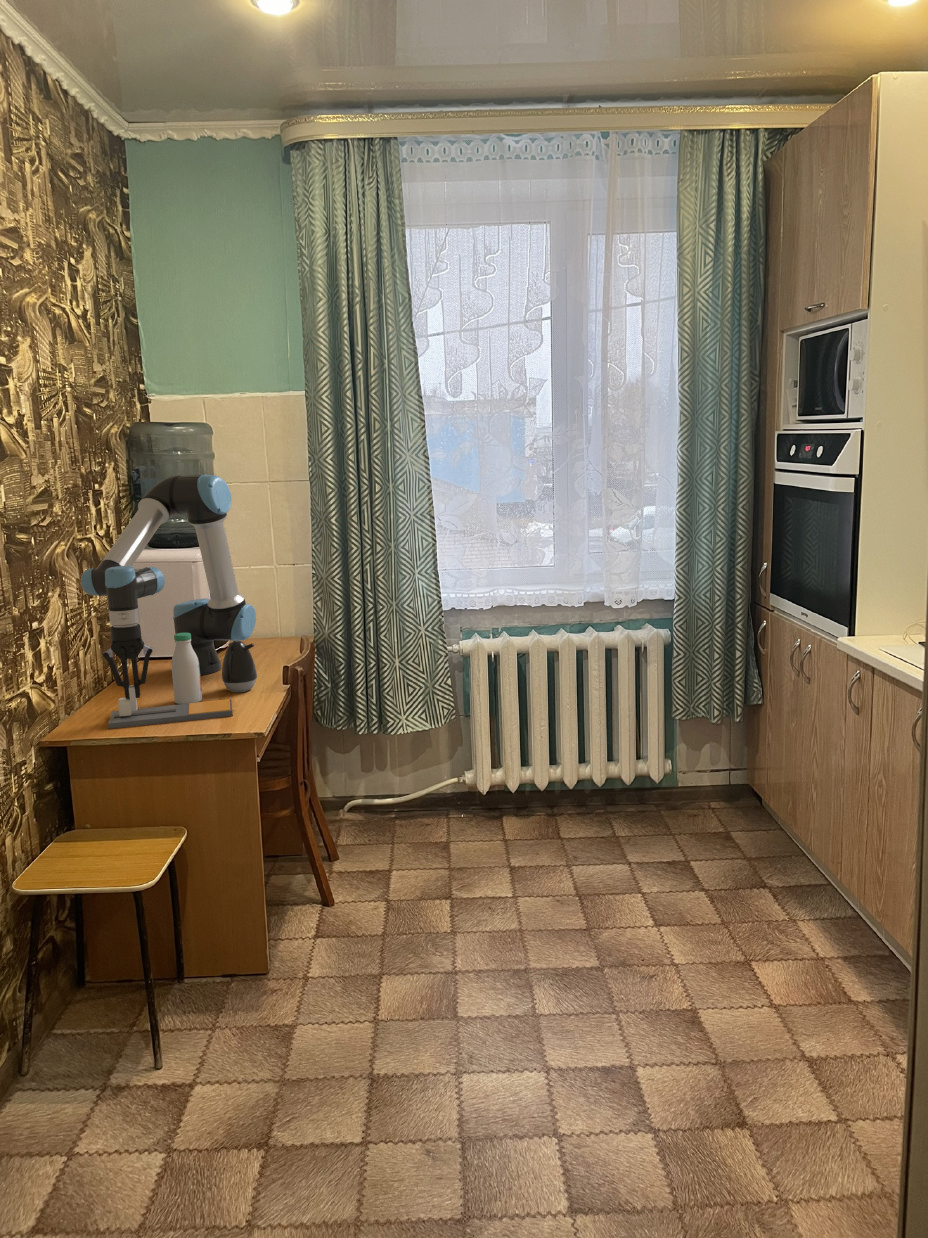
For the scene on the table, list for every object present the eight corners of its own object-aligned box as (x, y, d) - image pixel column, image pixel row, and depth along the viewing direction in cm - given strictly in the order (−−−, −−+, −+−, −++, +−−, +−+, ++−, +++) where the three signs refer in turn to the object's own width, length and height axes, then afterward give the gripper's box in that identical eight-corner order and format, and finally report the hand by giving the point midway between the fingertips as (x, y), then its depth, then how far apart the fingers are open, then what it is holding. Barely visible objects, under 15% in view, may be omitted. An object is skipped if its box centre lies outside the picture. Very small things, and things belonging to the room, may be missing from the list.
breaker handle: (120, 712, 264) (119, 698, 264) (132, 711, 265) (130, 697, 264) (119, 716, 260) (118, 702, 260) (131, 715, 261) (129, 700, 260)
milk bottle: (201, 704, 277) (194, 635, 273) (173, 706, 276) (166, 637, 272) (203, 696, 285) (197, 630, 281) (176, 699, 283) (170, 632, 280)
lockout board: (113, 716, 268) (112, 710, 268) (231, 704, 275) (231, 698, 275) (108, 728, 256) (108, 722, 256) (232, 715, 264) (232, 709, 264)
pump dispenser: (250, 695, 285) (246, 644, 282) (217, 694, 287) (212, 644, 284) (264, 686, 294) (260, 637, 291) (232, 685, 296) (228, 636, 293)
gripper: (97, 629, 253) (107, 716, 258) (149, 625, 257) (158, 710, 261) (100, 624, 261) (110, 708, 265) (151, 620, 264) (160, 703, 268)
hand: (134, 709), depth 263 cm, fingers closed
